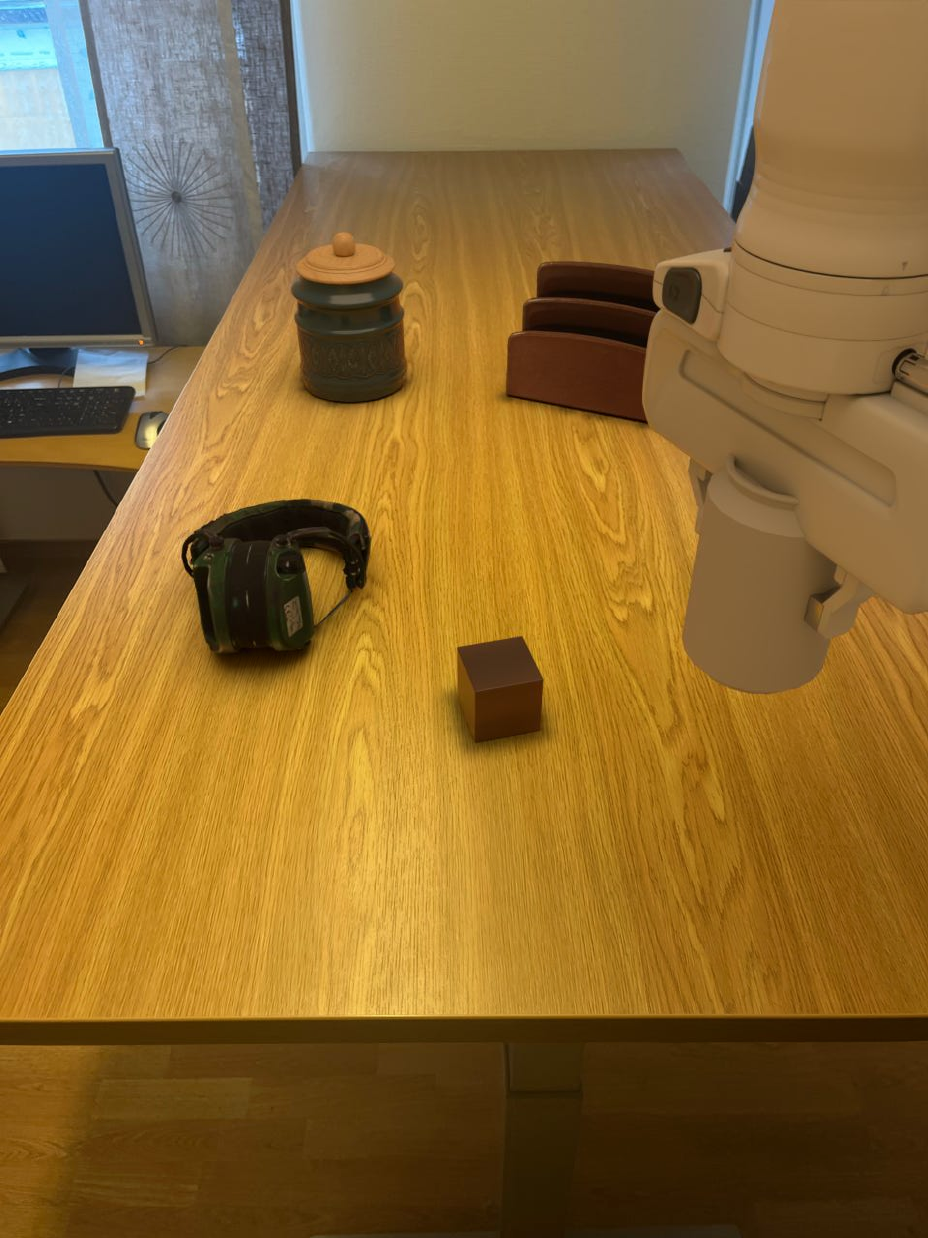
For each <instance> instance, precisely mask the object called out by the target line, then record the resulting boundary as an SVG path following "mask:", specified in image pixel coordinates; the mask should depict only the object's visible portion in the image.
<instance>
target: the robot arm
mask: <svg viewBox="0 0 928 1238" xmlns="http://www.w3.org/2000/svg"><path fill="white" fill-rule="evenodd" d="M752 123H753V125H752V126H753V137H754V138H753V139H754V148H755V159H754V160H755V161H754V172H753V176H752V180H751V181H752V182H751V185H750V188H749V192H748V195H747V197H746V200H745V202H744V204H743V206H742V208H741V210H740V212H739V214H738V217H737V219H736V223H735V227H734V232H733V238H732V244H731V246H727V247H725V248H724V247H723V248H719V249H713V250H712V249H711V250H707V251H702V252H697V253H693V254H688V255H684V256H680V257H676V258H671V259H668V260H663V261H660V262H659V263H658V264H657V265H656V266H655V269H654V271H655V273H654V279H653V299H654V302H655V304H656V305H657V306H658V307H659V308H660V309H661V310H660V311H658V313H657V314H656V315H655V317H654V319H653V321H652V324H651V327H650V331H649V337H648V343H647V350H646V358H645V366H644V376H643V389H642V404H643V408H644V411H645V415H646V418H647V421H648V422H647V423H648V427H649V428H650V429H651V430H652V431H653V432H655V433H656V434H657V435H659V436H660V437H662V438H663V439H664V440H666V441H667V442H668V443H670V445H673V446H674V447H675V448H677V450H680V451H681V452H682V453H683V454H685V455H686V456H687V457H688V458H689V464H688V471H687V472H688V475H689V479H690V484H691V488H692V491H693V495H694V499H695V504H696V506H697V513H696V519H695V524H694V532H695V533H696V534H697V535H699V533H700V527H701V521H702V516H703V510H704V504H705V498H706V492H707V486H708V484H709V482H710V479H711V477H712V475H713V474H714V473H716V472H717V471H719V470H721V469H722V468H725V467H726V465H725V461H726V459H727V456H728V454H729V453H731V454H733V455H734V456H735V458H736V460H735V467H737V468H738V469H740V470H741V471H743V472H744V473H745V474H747V475H748V476H750V477H751V478H753V479H754V480H755V481H757V482H758V483H760V484H761V486H762V487H764V488H765V489H767V490H769V491H771V492H773V493H776V494H782V495H787V496H793V497H795V498H797V499H798V500H799V505H796V506H795V509H794V513H795V516H796V519H797V522H798V525H799V527H800V529H801V531H802V533H803V535H804V537H805V541H806V542H807V543H808V544H809V545H811V546H812V547H813V548H815V549H816V550H818V551H819V552H820V553H822V554H823V555H824V556H826V557H827V558H828V559H830V560H831V561H833V562H834V563H835V564H837V568H836V572H835V575H834V579H835V581H836V582H838V583H839V584H843V587H842V588H841V587H840V586H837V587H835V588H833V589H830V590H828V591H827V592H824V593H818V594H813V595H810V598H809V601H808V605H807V608H808V612H807V613H806V614H805V616H804V621H805V622H806V623H807V624H809V625H810V626H811V627H812V628H813V629H814V630H815V631H817V632H818V633H819V634H820V635H822V636H823V637H824V638H825V639H828V640H829V639H831V640H832V639H834V638H838V637H840V636H843V635H846V634H847V633H848V632H850V631H851V629H852V628H853V627H854V624H855V621H856V618H857V615H858V613H859V610H860V606H861V605H862V604H864V603H866V602H867V601H868V600H870V599H872V598H873V597H874V596H876V595H877V596H878V597H880V598H882V599H883V600H884V601H886V603H888V604H889V605H891V606H892V607H894V608H895V609H896V610H898V611H899V612H901V613H903V614H906V615H910V616H912V615H913V616H915V615H919V614H924V613H928V0H774V4H773V8H772V12H771V18H770V21H769V27H768V32H767V36H766V41H765V46H764V52H763V57H762V63H761V67H760V72H759V79H758V85H757V92H756V96H755V101H754V109H753V119H752Z"/></svg>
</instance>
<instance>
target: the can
mask: <svg viewBox="0 0 928 1238" xmlns="http://www.w3.org/2000/svg"><path fill="white" fill-rule="evenodd" d="M735 460H736V458H735V456H734V455H733V454H731V453H729V454H728V456H727V459H726V461H725V465H726V467H725V468H722V469H721V470H719V471H717V472H716V473H714V474H713V475H712V477H711V479H710V482H709V484H708V486H707V492H706V498H705V504H704V510H703V516H702V521H701V527H700V533H699V534H698V540H697V544H696V545H697V546H696V551H695V558H694V562H693V569H692V574H691V579H690V580H691V581H690V587H689V593H688V597H687V598H688V599H687V602H686V603H687V605H686V610H685V616H684V622H683V627H682V632H681V639H682V644H683V645H682V646H683V650H684V652H685V653H686V655H687V657H688V658H689V659H690V660H691V662H692V664H693V665H694V666H695V667H697V668H698V669H699V670H701V671H702V672H703V673H704V674H705V675H707V677H709V678H710V679H711V680H713V681H714V682H715V683H717V684H719V685H722V686H723V687H726V688H728V689H730V690H732V691H737V692H740V693H746V694H748V695H772V694H773V695H774V694H777V693H782V692H786V691H791V690H797V689H799V688H801V687H803V686H805V685H806V684H808V683H811V682H812V681H814V679H815V678H816V677H817V676H818V675H819V673H820V672H821V671H822V670H823V668H824V664H825V662H826V658H827V655H828V651H829V648H830V644H831V641H832V639H829V640H828V639H825V638H824V637H823V636H822V635H820V634H819V633H818V632H817V631H815V630H814V629H813V628H812V627H811V626H810V625H809V624H807V623H806V622H805V621H804V616H805V614H806V613H807V612H808V608H807V605H808V601H809V598H810V595H813V594H818V593H824V592H827V591H828V590H830V589H833V588H835V587H837V586H840V587H841V588H842V587H843V584H839V583H838V582H836V581H835V579H834V575H835V572H836V568H837V564H835V563H834V562H833V561H831V560H830V559H828V558H827V557H826V556H824V555H823V554H822V553H820V552H819V551H818V550H816V549H815V548H813V547H812V546H811V545H809V544H808V543H807V542H806V541H805V537H804V535H803V533H802V531H801V529H800V527H799V525H798V522H797V519H796V516H795V513H794V509H795V506H796V505H799V500H798V499H797V498H795V497H793V496H787V495H782V494H776V493H773V492H771V491H769V490H767V489H765V488H764V487H762V486H761V484H760V483H758V482H757V481H755V480H754V479H753V478H751V477H750V476H748V475H747V474H745V473H744V472H743V471H741V470H740V469H738V468H737V467H735Z"/></svg>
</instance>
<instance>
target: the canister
mask: <svg viewBox="0 0 928 1238" xmlns="http://www.w3.org/2000/svg"><path fill="white" fill-rule="evenodd" d="M395 268H396V262H395V260H394V259H393V257H391V256H390V255H388V254H386V253H384V252H383V251H382V250H381V249H380V248H379V247H376V246H374V245H369V244H365V243H358V242H357V243H356V240H355V238H354V237H353V235H352V234H351V233H349V232H343V231H342V232H339V233H336V234H335V235H334V237H333V239H332V243H331V244H325V245H322V246H318V247H316V248H314V249H311V250H310V251H309V252H308V253H307V255H306V256H304V257H303V258H301V259H300V260H299V261H297V263H296V265H295V271H296V273H297V274H298V278H296V279H295V280H294V281H293V282H292V284H291V286H290V292H291V295H292V296H293V297H294V299H296V308H297V309H296V311H295V313H294V317H293V318H294V322H295V324H296V331H297V332H296V333H297V340H298V348H299V357H300V363H299V370H300V376H301V379H302V380H303V385H304V388H305V389H306V390H307V391H308V392H309V393H310V394H312V395H314V396H316V397H318V398H320V399H324V400H327V401H333V402H339V403H341V402H342V403H359V402H368V401H372V400H373V401H374V400H377V399H381V398H385V397H387V396H389V395H392V394H393V393H395V392H397V391H398V390H399V389H401V388H402V387H403V385H404V384H405V382H406V376H407V375H406V374H407V372H408V365H407V364H408V359H407V357H406V347H405V346H406V344H405V343H406V342H405V325H404V324H405V323H404V318H405V309H404V307H403V306H402V304H401V300H400V294H401V293H402V292H403V289H404V281H403V279H401V277H400V276H399V275H397V274H396V273H394V270H395Z"/></svg>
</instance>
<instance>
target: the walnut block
mask: <svg viewBox="0 0 928 1238" xmlns="http://www.w3.org/2000/svg"><path fill="white" fill-rule="evenodd" d="M456 657H457V658H456V664H457V665H456V667H457V669H456V671H457V672H456V673H457V675H456V677H457V678H456V679H457V699H458V702H459V704H460V708H461V709H462V712H463V714H464V715H463V716H464V718H465V720H466V723H467V726H468V728H469V731H470V734H471V737H472V739H473V741H474V743H479V742H480V743H481V742H485V741H490V740H495V739H502V738H506V737H512V736H515V735H516V736H517V735H521V734H528V733H532V732H537V731H541V727H542V725H541V724H542V710H543V694H544V680H545V679H544V677H543V675H542V673H541V671H540V669H539V666H538V665H537V663H536V661H535V659H534V657H533V655H532V653H531V650H530V648H529V647H528V644H527V642H526V641H525V639H524V636H522V635H520V636H513V637H508V638H502V639H495V640H489V641H484V642H479V643H472V644H467V645H462V646H457V648H456Z"/></svg>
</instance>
